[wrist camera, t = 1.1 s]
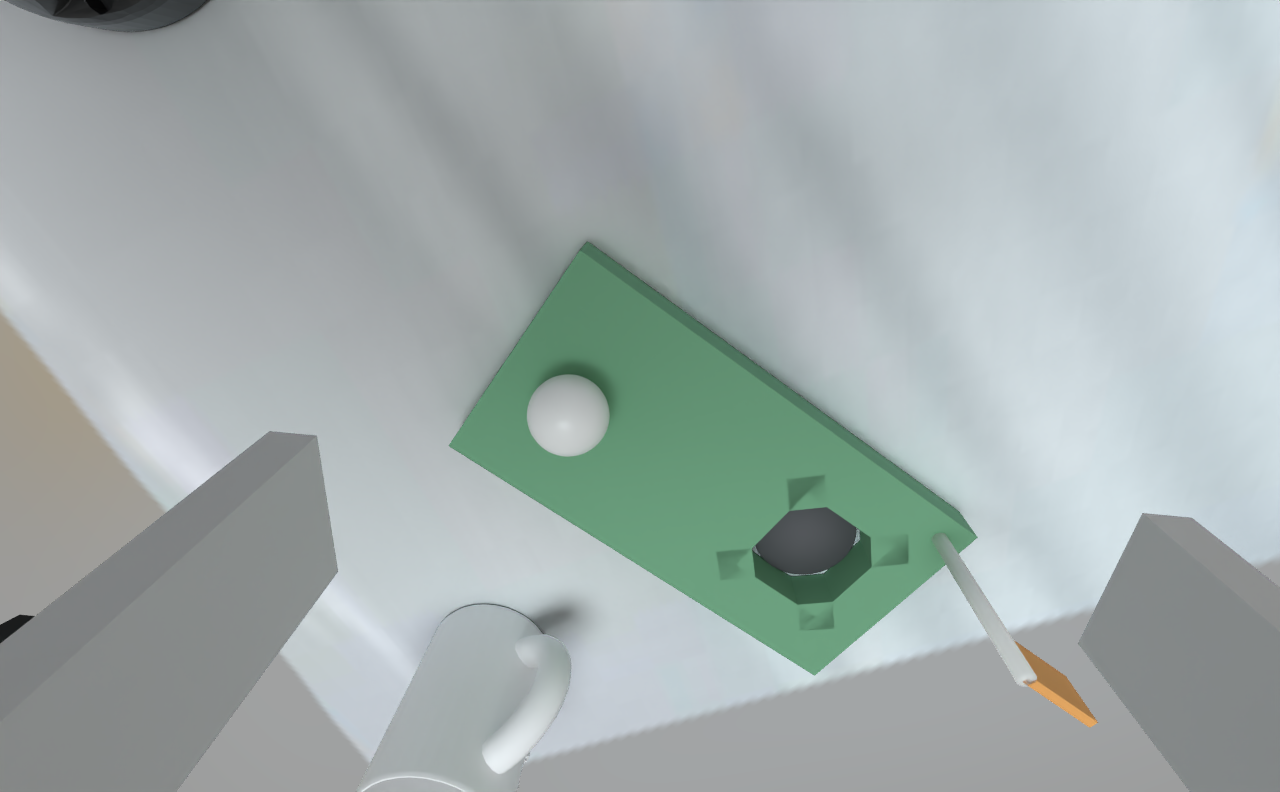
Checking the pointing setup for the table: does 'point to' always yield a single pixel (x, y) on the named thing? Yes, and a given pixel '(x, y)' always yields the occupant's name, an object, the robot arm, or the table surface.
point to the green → (726, 478)
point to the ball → (568, 415)
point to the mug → (473, 706)
